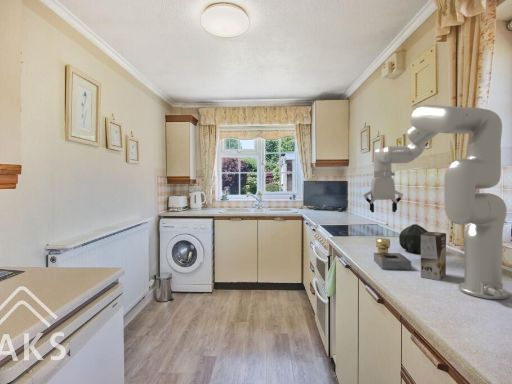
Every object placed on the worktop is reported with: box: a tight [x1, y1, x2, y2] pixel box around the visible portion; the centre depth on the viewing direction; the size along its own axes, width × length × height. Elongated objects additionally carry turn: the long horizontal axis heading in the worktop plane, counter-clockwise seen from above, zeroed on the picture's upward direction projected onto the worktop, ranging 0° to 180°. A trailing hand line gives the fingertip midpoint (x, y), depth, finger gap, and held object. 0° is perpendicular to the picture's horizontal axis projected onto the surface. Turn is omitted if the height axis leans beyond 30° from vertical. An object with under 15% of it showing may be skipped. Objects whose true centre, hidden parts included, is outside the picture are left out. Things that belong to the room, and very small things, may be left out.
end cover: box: [375, 237, 391, 253], centre depth 140 cm, size 6×6×8 cm
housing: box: [373, 252, 412, 271], centre depth 128 cm, size 14×11×4 cm
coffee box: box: [420, 231, 447, 281], centre depth 112 cm, size 9×6×16 cm
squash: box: [398, 223, 429, 254], centre depth 150 cm, size 14×15×15 cm
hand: (383, 212), depth 139 cm, fingers open, 9 cm apart
